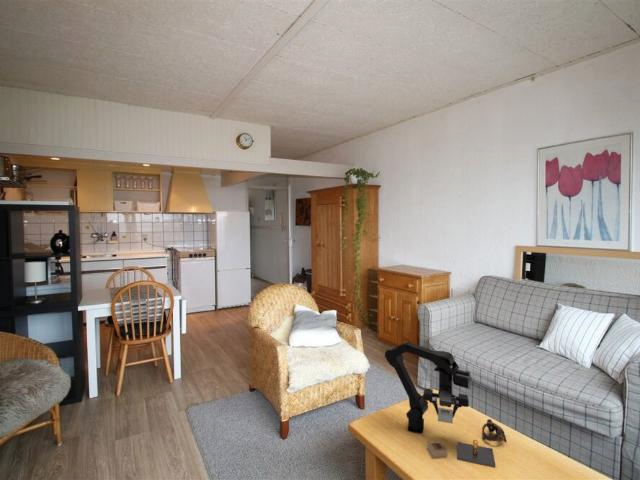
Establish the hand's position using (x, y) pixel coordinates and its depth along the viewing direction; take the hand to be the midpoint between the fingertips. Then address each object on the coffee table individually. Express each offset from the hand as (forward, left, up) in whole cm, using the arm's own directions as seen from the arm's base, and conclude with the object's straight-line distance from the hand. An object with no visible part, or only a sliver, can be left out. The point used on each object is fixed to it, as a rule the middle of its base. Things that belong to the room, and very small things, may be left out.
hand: (445, 415), depth 157 cm
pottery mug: (+20, +8, -11) cm, 24 cm away
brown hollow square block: (-3, -10, -11) cm, 15 cm away
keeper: (+12, -7, -11) cm, 18 cm away
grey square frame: (0, 0, -1) cm, 1 cm away
